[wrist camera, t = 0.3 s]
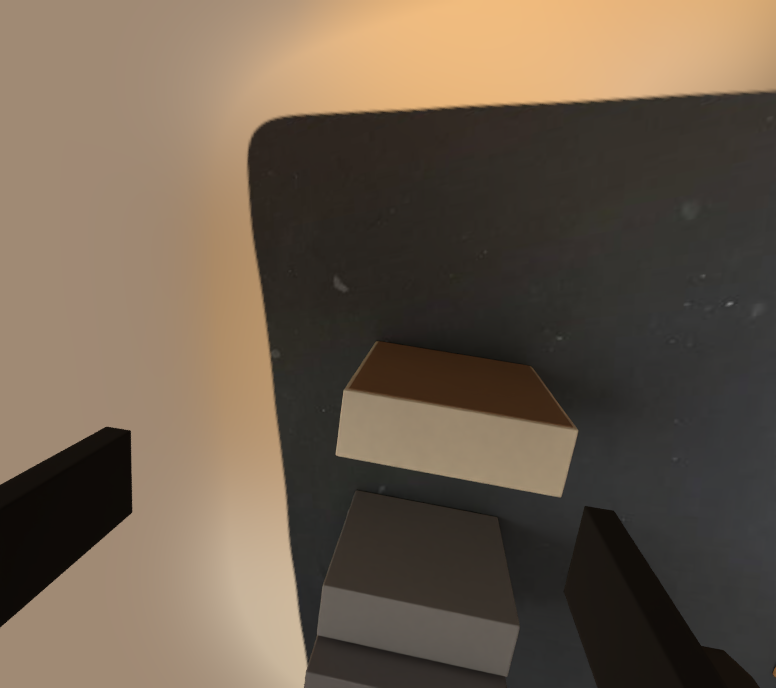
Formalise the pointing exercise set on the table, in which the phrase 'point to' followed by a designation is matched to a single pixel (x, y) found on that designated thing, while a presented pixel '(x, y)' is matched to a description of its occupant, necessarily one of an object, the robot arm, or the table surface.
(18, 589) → the robot arm
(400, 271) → the table surface
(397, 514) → the grey books
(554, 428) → the cream book
